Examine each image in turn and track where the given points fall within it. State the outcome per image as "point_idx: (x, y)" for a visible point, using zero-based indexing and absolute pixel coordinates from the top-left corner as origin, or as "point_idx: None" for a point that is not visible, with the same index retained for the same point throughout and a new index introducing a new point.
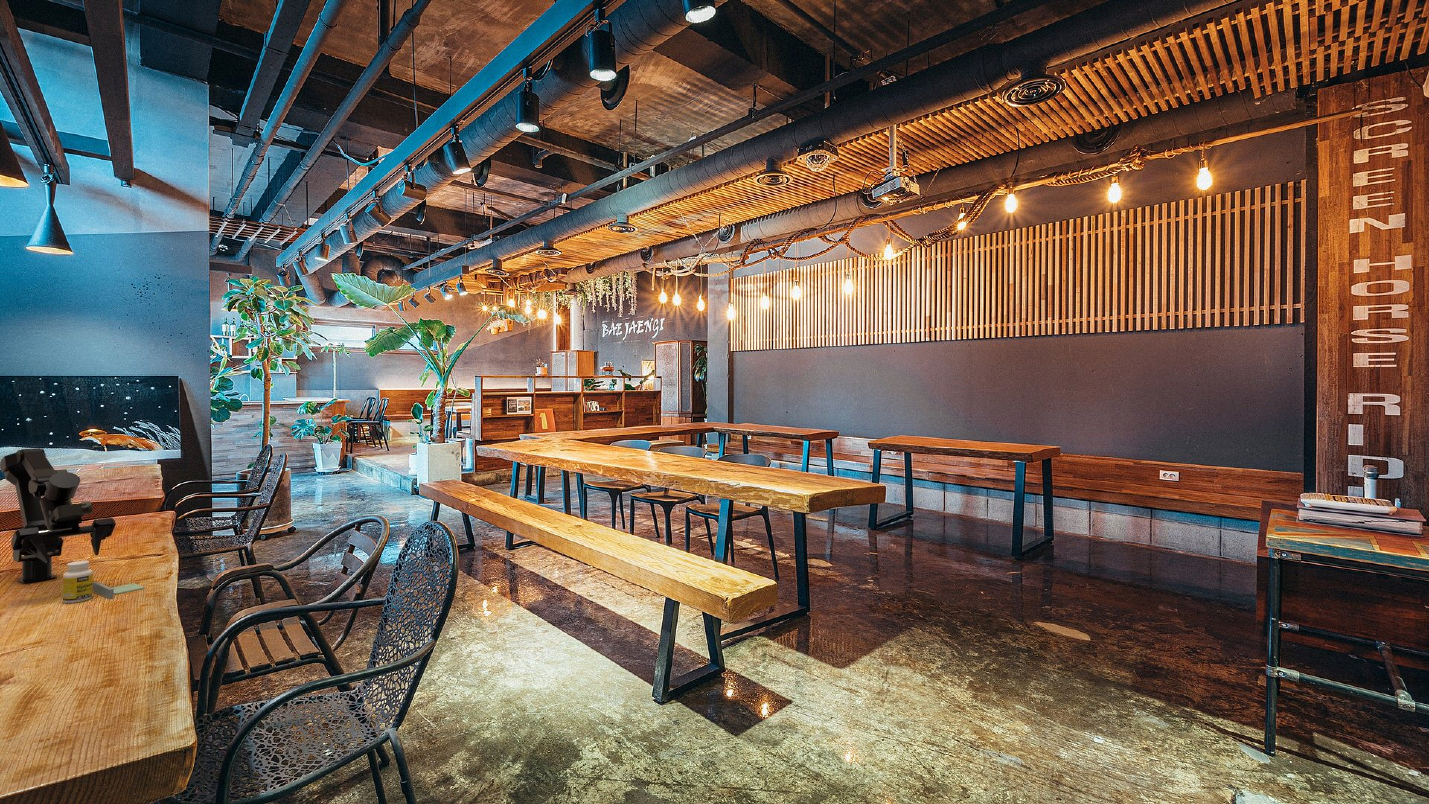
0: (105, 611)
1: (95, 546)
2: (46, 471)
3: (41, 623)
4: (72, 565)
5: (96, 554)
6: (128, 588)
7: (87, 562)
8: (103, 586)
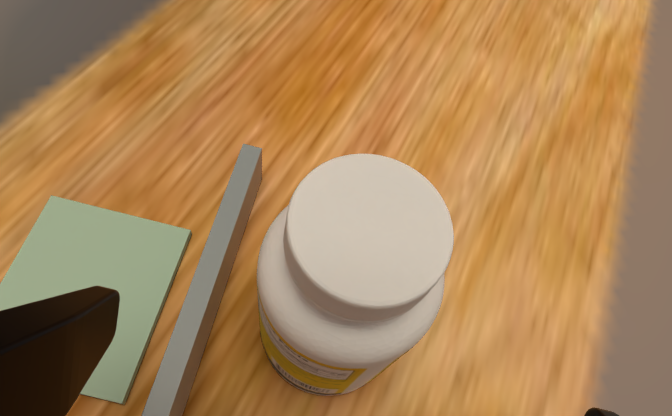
0: (376, 41)
1: (43, 340)
2: None
3: (553, 112)
4: (434, 193)
5: (116, 313)
6: (86, 262)
7: (327, 162)
8: (220, 252)
